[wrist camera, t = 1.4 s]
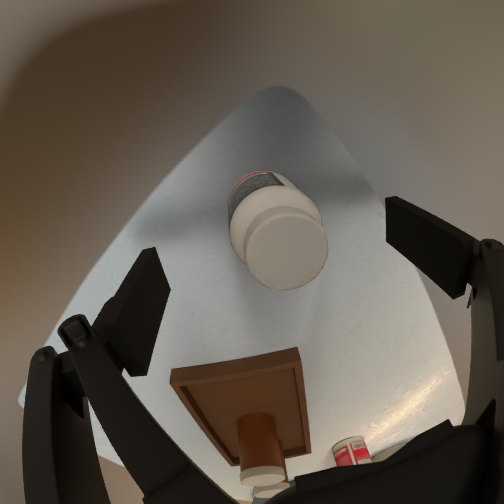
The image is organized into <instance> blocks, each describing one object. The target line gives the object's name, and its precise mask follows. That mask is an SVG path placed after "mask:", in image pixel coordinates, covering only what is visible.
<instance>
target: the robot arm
mask: <svg viewBox="0 0 504 504" xmlns="http://www.w3.org/2000/svg"><path fill="white" fill-rule="evenodd" d="M385 206H386V242H387V243H389V244H390V245H391V246H392V247H394V248H395V249H396V250H397V251H398V252H400V253H401V254H402V255H403V256H404V257H406V258H407V259H408V260H409V261H410V262H412V263H413V264H414V265H415V266H416V267H418V268H419V269H420V270H421V271H422V272H423V273H424V274H426V275H427V276H428V277H429V278H430V279H431V280H432V281H434V282H435V283H436V284H437V285H438V286H439V287H440V288H441V289H442V290H444V291H445V292H446V293H447V294H448V295H449V296H450V297H451V298H452V299H456V298H458V297H460V296H462V295H464V294H465V290H466V285H467V283H468V284H470V285H471V286H472V289H471V293H470V297H469V301H468V305H467V308H469V306H470V305H471V324H472V325H471V327H472V328H471V329H472V333H471V334H472V336H471V337H472V339H471V340H472V341H471V364H470V377H469V387H468V395H467V403H466V410H465V415H464V419H463V421H462V424H461V425H458V426H452V424H451V422H450V420H449V419H447V420H446V421H444V422H442V423H440V424H439V425H437V426H435V427H433V428H431V429H429V430H427V431H425V432H423V433H421V434H419V435H417V436H416V437H415V438H413V439H412V440H411V441H410V442H408V443H407V444H406V445H404V446H403V447H402V448H400V449H399V450H398V451H396V452H395V453H393V454H392V455H391V456H389V457H388V458H386V459H385V460H382V461H379V462H372V463H365V464H356V465H346V466H336V467H333V468H329V469H325V470H321V471H318V472H313V473H309V474H305V475H300V476H296V477H294V479H295V485H293V486H291V487H289V488H286V489H284V490H283V491H281V492H279V493H277V494H276V495H274V496H273V497H271V498H270V499H268V500H267V501H266V502H265V503H263V504H504V245H503V244H502V243H501V242H499V241H496V240H494V239H483V240H482V241H479V240H477V239H475V238H474V237H472V236H470V235H469V234H467V233H465V232H463V231H462V230H460V229H458V228H457V227H455V226H453V225H451V224H450V223H448V222H446V221H444V220H442V219H440V218H439V217H437V216H435V215H433V214H431V213H429V212H427V211H425V210H423V209H421V208H419V207H417V206H415V205H413V204H411V203H409V202H407V201H405V200H403V199H401V198H399V197H397V196H393V197H387V198H385ZM170 291H171V289H170V286H169V284H168V281H167V278H166V276H165V273H164V270H163V268H162V265H161V262H160V259H159V257H158V254H157V251H156V248H155V247H152V248H148V249H144V250H142V252H141V253H140V255H139V256H138V258H137V259H136V261H135V263H134V264H133V266H132V267H131V269H130V271H129V272H128V274H127V275H126V277H125V279H124V280H123V282H122V284H121V285H120V287H119V289H118V291H117V292H116V294H115V296H114V297H111V298H110V299H109V300H108V301H107V302H106V303H105V304H104V306H103V307H102V309H101V312H99V314H98V317H97V318H96V319H95V321H94V323H93V325H92V327H91V326H90V324H89V322H88V320H87V319H86V317H85V316H84V315H82V314H78V315H74V316H72V317H70V318H68V319H66V320H65V321H64V322H63V323H62V324H61V325H60V326H59V328H58V335H59V336H60V338H61V339H62V341H63V342H64V344H65V345H66V347H67V348H68V350H69V351H66V352H63V353H60V354H57V352H56V351H55V350H54V348H53V347H52V346H46V347H43V348H41V349H39V350H38V351H36V352H35V354H34V356H33V357H32V359H31V363H30V368H29V374H28V381H27V388H26V396H25V406H24V418H23V439H22V461H23V481H24V493H25V501H26V504H111V503H110V500H109V497H108V493H107V490H106V487H105V483H104V480H103V476H102V472H101V468H100V464H99V460H98V456H97V451H96V447H95V442H94V436H93V431H92V425H91V419H90V412H89V405H88V400H89V402H90V404H91V406H92V408H93V410H94V412H95V414H96V416H97V418H98V420H99V422H100V424H101V426H102V428H103V430H104V432H105V434H106V435H107V437H108V439H109V441H110V442H111V444H112V446H113V448H114V449H115V451H116V453H117V454H118V456H119V458H120V459H121V461H122V462H123V464H124V466H125V467H126V469H127V470H128V471H129V473H130V474H131V476H132V478H133V479H134V480H135V482H136V483H137V485H138V486H139V487H140V489H141V490H142V492H143V493H144V498H143V499H142V500H143V503H144V504H239V503H238V502H237V501H236V500H235V499H233V498H232V497H231V496H230V495H228V494H227V493H226V492H225V491H224V490H223V489H222V488H220V487H219V486H218V485H217V484H216V483H215V482H214V481H213V480H212V479H210V478H209V477H208V476H207V475H206V474H205V473H204V472H203V471H202V470H201V469H200V468H199V467H198V466H197V465H196V464H195V463H194V462H193V461H192V460H191V459H190V458H189V457H188V456H187V455H186V454H185V453H184V452H183V451H182V450H181V448H180V447H179V446H178V445H177V444H176V443H175V442H174V441H173V440H172V439H171V437H170V436H169V435H168V434H167V433H166V432H165V431H164V429H163V428H162V427H161V426H160V425H159V423H158V422H157V421H156V420H155V419H154V417H153V416H152V415H151V414H150V412H149V411H148V410H147V409H146V407H145V406H144V405H143V403H142V402H141V401H140V399H139V398H138V397H137V395H136V394H135V393H134V391H133V390H132V389H131V387H130V386H129V384H128V383H127V381H126V380H125V379H124V377H123V376H122V372H123V369H124V368H125V369H126V371H127V372H128V374H129V375H130V377H136V376H147V373H148V369H149V365H150V361H151V357H152V353H153V349H154V346H155V342H156V338H157V335H158V331H159V328H160V324H161V321H162V317H163V314H164V310H165V307H166V304H167V300H168V297H169V294H170Z"/></svg>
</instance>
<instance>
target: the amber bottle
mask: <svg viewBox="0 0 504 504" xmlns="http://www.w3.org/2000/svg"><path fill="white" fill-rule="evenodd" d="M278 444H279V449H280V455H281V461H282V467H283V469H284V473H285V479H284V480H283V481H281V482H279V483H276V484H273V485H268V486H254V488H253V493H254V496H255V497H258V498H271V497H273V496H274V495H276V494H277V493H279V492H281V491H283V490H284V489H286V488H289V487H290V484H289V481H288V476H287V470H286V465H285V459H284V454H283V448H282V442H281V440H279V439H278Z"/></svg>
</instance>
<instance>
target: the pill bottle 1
mask: <svg viewBox="0 0 504 504" xmlns="http://www.w3.org/2000/svg"><path fill="white" fill-rule="evenodd" d="M228 212H229V233H230V240H231V244H232V247H233V250H234V252H235V253H236V255H237V256H238V258H239V259H240V260H241V261H242V262H243V263H244V264H245V265H246V266H247V267H248V269H249V271H250V273H251V275H252V276H253V277H254V278H255V279H256V280H257V281H258V282H259V283H261V284H262V285H264V286H266V287H268V288H271V289H276V290H291V289H296V288H299V287H301V286H303V285H305V284H307V283H309V282H310V281H312V280H313V279H314V278H315V277H316V276H317V275H318V274H319V273H320V271H321V270H322V268H323V266H324V264H325V262H326V259H327V255H328V242H327V238H326V235H325V233H324V231H323V229H322V220H321V216H320V213H319V211H318V209H317V207H316V206H315V204H314V203H313V202H312V201H311V199H310V198H309V197H308V196H307V195H305V194H304V193H303V192H301V191H300V190H299V189H298V188H297V187H296V186H295V185H294V184H292V183H291V182H290V181H289V180H288V179H287V178H285V177H284V176H282V175H280V174H278V173H275V172H272V171H256V172H252V173H250V174H248V175H246V176H244V177H243V178H242V179H240V180H239V181H238V182H237V183H236V185H235V186H234V188H233V189H232V191H231V194H230V197H229V202H228Z"/></svg>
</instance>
